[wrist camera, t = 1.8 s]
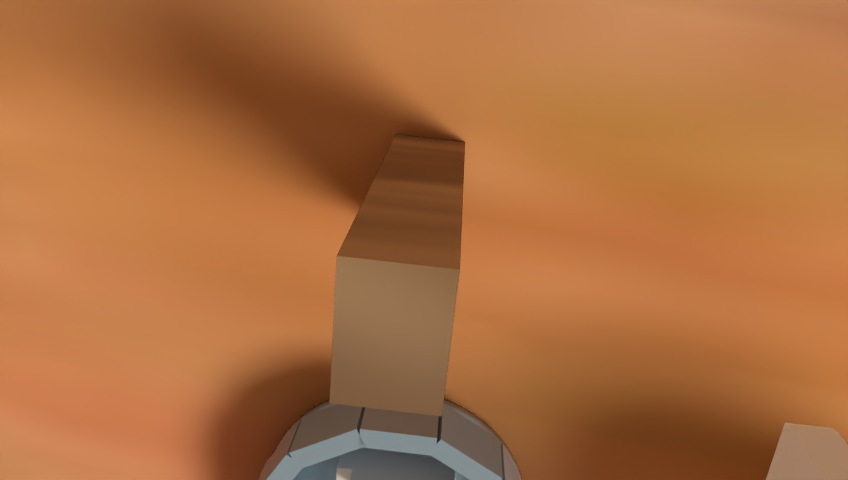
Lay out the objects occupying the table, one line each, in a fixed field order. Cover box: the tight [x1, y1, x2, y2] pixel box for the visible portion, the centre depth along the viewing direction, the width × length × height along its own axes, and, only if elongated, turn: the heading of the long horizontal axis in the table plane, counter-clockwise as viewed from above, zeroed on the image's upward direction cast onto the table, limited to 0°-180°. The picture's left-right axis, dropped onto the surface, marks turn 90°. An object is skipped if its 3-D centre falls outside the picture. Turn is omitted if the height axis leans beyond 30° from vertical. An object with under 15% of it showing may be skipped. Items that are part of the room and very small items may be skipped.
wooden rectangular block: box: [329, 135, 465, 416], centre depth 19 cm, size 3×2×11 cm
